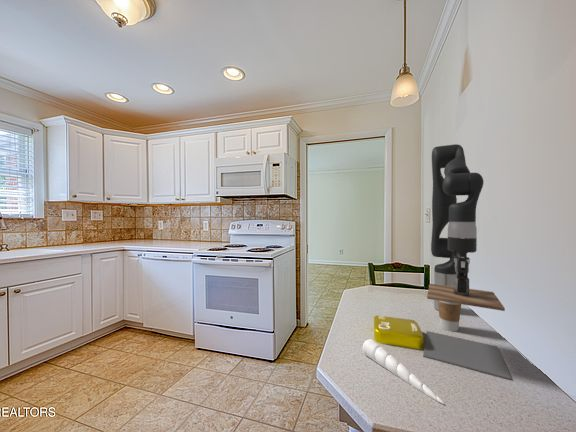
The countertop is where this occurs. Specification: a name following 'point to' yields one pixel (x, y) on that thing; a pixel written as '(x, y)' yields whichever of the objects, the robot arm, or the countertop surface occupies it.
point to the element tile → (397, 332)
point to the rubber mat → (465, 354)
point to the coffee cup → (449, 315)
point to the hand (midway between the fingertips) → (461, 290)
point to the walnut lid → (464, 296)
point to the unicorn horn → (395, 367)
